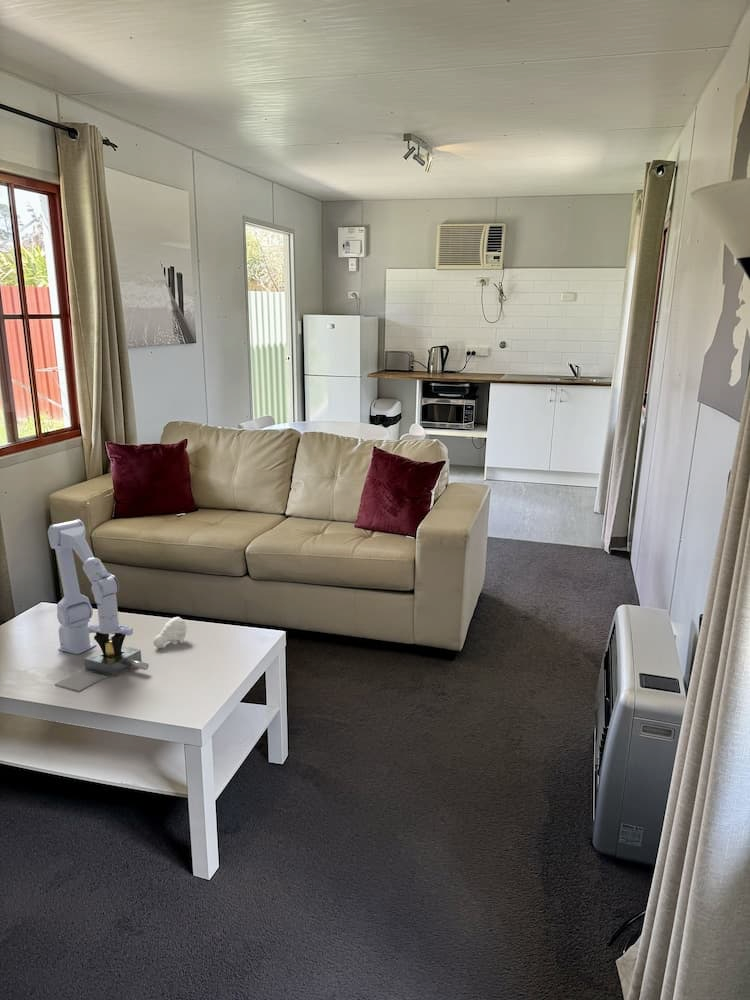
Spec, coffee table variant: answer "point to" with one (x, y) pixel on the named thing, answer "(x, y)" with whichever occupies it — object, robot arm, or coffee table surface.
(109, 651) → the gold metal cylinder
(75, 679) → the rubber mat
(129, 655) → the chuck block
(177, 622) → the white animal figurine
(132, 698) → the coffee table surface
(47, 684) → the coffee table surface
